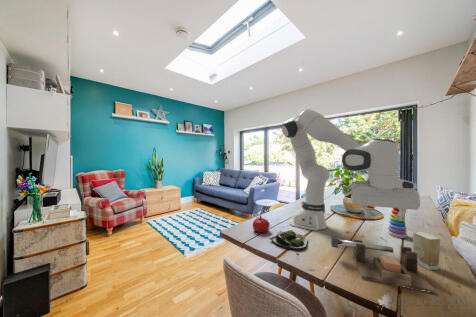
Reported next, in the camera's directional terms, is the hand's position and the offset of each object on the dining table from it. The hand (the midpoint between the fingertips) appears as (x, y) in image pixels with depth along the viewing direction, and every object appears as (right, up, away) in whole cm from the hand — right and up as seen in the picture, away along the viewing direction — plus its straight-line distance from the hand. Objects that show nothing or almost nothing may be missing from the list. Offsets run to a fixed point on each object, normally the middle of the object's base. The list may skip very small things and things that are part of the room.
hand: (382, 218), depth 66 cm
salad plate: (-28, -21, +25) cm, 43 cm away
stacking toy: (+34, -20, +31) cm, 50 cm away
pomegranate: (-41, -21, +39) cm, 60 cm away
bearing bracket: (+2, -21, 0) cm, 21 cm away
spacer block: (+1, -20, -2) cm, 20 cm away
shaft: (-3, -15, +7) cm, 17 cm away
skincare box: (+21, -21, +5) cm, 30 cm away
